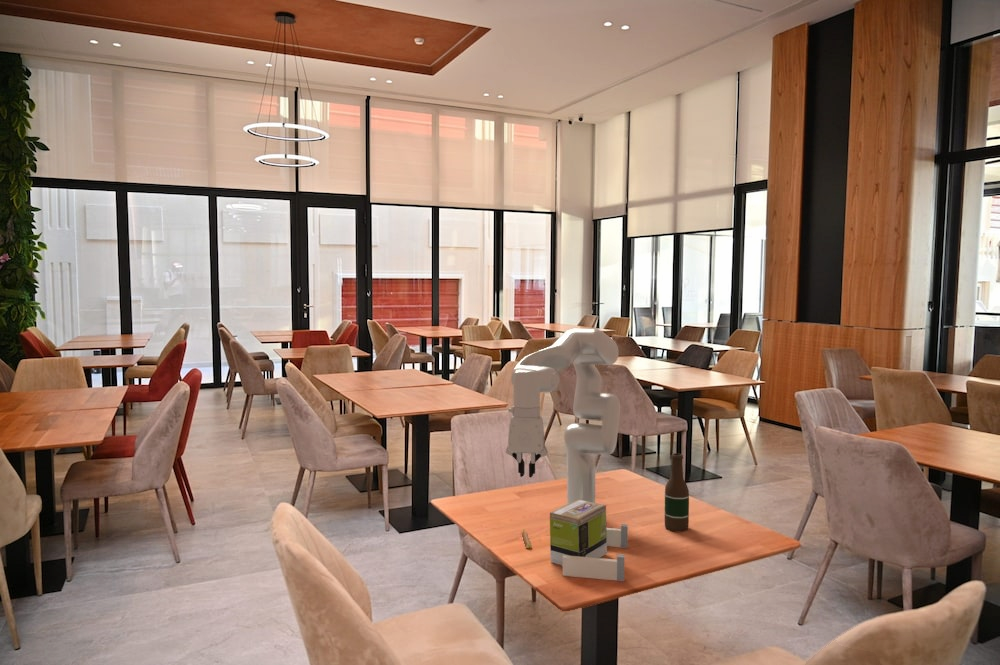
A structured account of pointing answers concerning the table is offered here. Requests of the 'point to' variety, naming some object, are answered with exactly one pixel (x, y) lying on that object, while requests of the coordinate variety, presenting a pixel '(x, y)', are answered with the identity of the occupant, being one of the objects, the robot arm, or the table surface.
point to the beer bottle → (676, 498)
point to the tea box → (578, 531)
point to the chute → (600, 560)
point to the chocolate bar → (526, 539)
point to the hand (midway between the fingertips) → (526, 475)
